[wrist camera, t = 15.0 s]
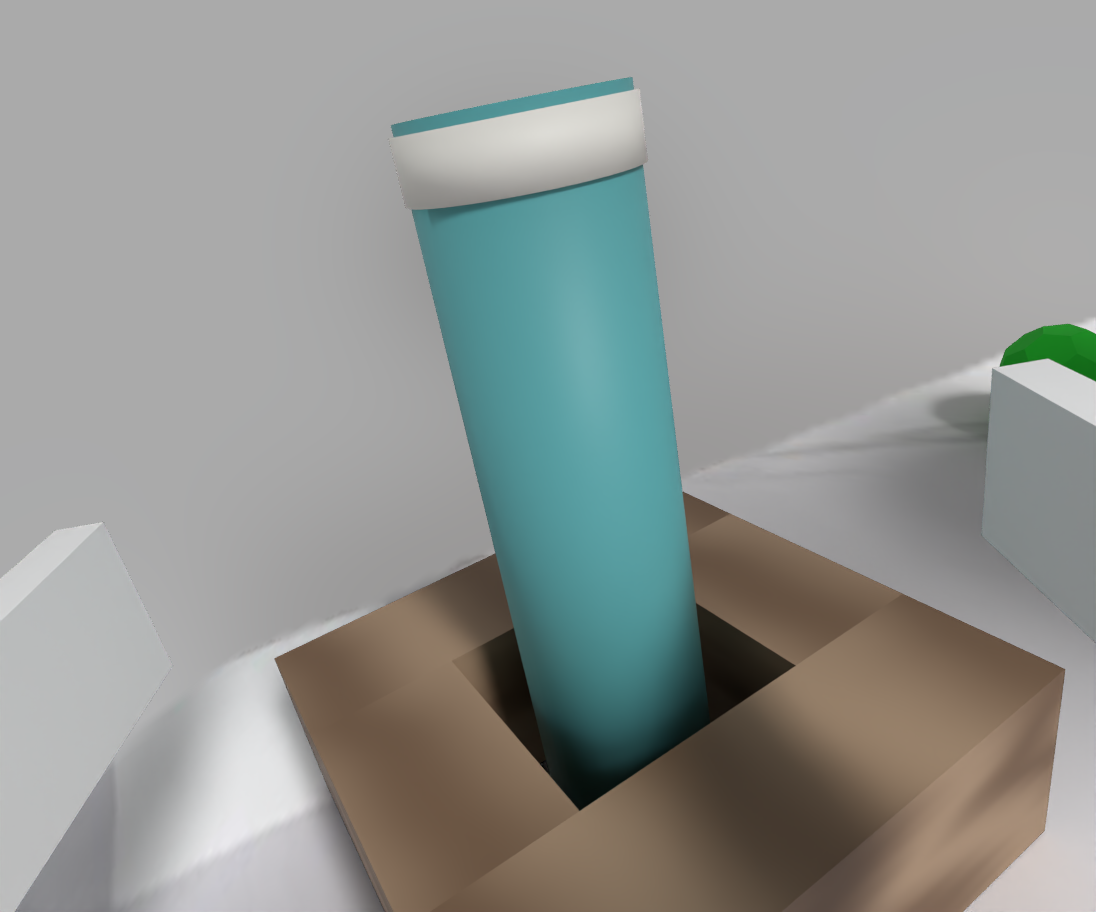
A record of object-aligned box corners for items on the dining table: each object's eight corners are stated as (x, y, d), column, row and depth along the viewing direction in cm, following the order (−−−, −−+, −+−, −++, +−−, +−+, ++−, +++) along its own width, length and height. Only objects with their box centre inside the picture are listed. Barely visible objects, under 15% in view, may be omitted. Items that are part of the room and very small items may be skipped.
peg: (651, 718, 24) (550, 95, 17) (760, 813, 20) (693, 64, 13) (527, 797, 22) (351, 133, 15) (622, 918, 18) (451, 110, 11)
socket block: (669, 590, 30) (653, 478, 28) (1044, 830, 18) (1064, 669, 16) (326, 783, 24) (274, 658, 22) (565, 1305, 13) (504, 1147, 11)
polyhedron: (1038, 398, 39) (1046, 307, 37) (1142, 424, 35) (1158, 323, 33) (968, 429, 37) (973, 335, 35) (1068, 460, 33) (1080, 356, 31)
